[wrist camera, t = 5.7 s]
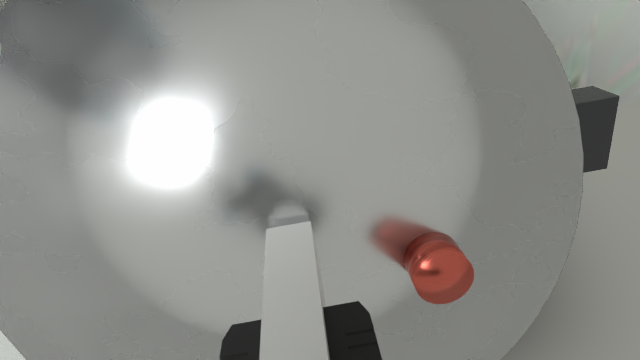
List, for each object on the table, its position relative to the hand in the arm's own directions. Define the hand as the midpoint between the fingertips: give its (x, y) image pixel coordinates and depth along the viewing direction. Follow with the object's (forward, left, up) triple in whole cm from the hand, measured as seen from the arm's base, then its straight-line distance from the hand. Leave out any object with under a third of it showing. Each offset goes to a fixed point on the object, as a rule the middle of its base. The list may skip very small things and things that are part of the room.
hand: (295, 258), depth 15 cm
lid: (0, -3, -1) cm, 3 cm away
